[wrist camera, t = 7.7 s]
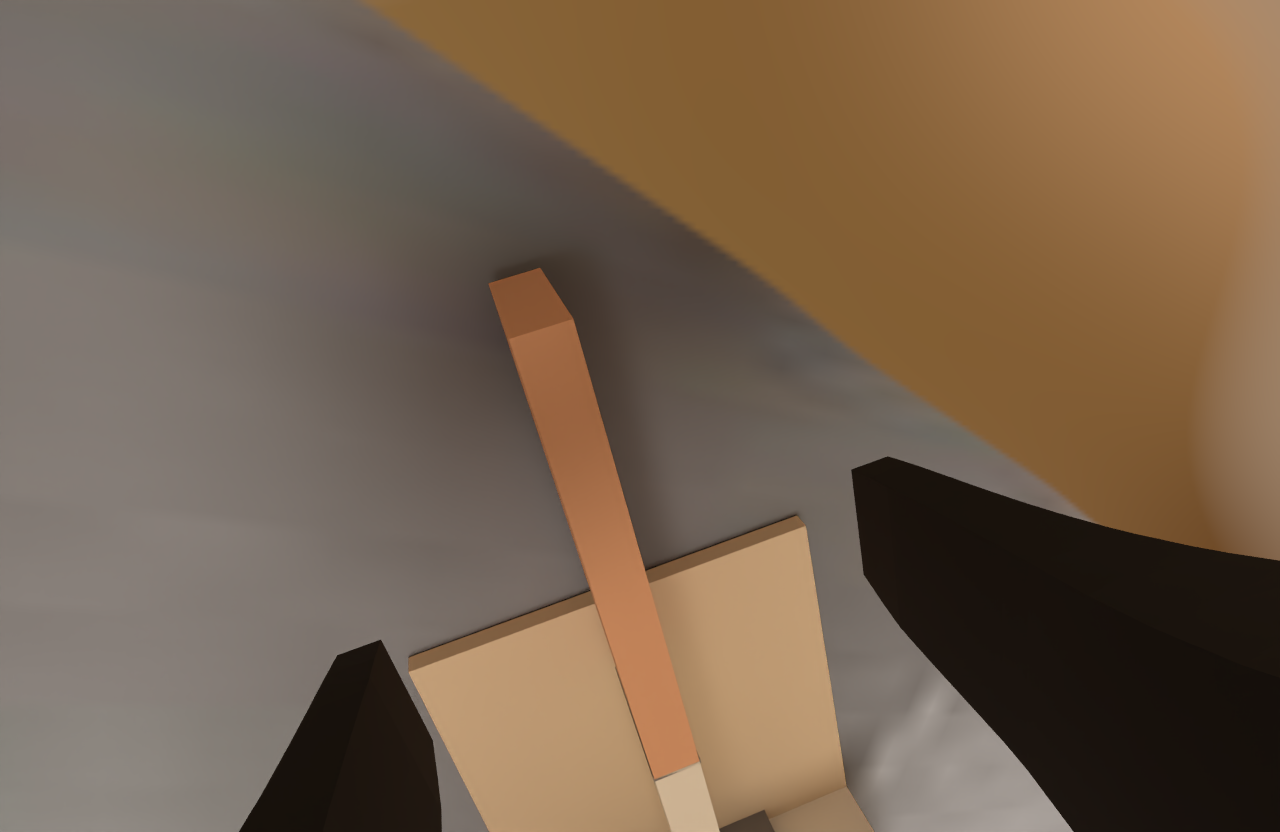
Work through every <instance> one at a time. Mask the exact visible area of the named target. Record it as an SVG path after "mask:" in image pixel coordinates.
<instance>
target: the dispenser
mask: <svg viewBox="0 0 1280 832" xmlns="http://www.w3.org/2000/svg"><path fill="white" fill-rule="evenodd" d="M645 572H646V575H647V579H648V582H649V586H650V589H651V593H652V596H653V600H654V603H655V607H656V610H657V614H658V617H659V621H660V624H661V628H662V631H663V635H664V638H665V642H666V645H667V649H668V652H669V656H670V659H671V663H672V666H673V670H674V673H675V677H676V680H677V684H678V687H679V691H680V694H681V698H682V701H683V705H684V708H685V712H686V715H687V719H688V722H689V726H690V729H691V733H692V736H693V740H694V743H695V747H696V750H697V752H698V755H699V757H700V760H701V763H700V764H701V768H702V771H703V775H704V778H705V782H706V785H707V789H708V792H709V796H710V799H711V803H712V806H713V810H714V813H715V817H716V820H717V824H718V827H719V831H720V832H874V831H873V829H872V827H871V826H870V824H869V822H868V821H867V819H866V817H865V816H864V814H863V812H862V811H861V809H860V807H859V806H858V804H857V803H856V801H855V799H854V798H853V796H852V794H851V793H850V791H849V789H848V788H847V785H846V779H845V773H844V766H843V760H842V754H841V747H840V741H839V734H838V728H837V722H836V715H835V709H834V703H833V696H832V690H831V683H830V677H829V671H828V664H827V658H826V652H825V645H824V639H823V632H822V626H821V620H820V613H819V607H818V601H817V594H816V588H815V581H814V575H813V569H812V562H811V556H810V550H809V543H808V537H807V530H806V525H805V524H804V523H803V522H802V521H801V520H800V519H799V517H798V516H794V517H791V518H788V519H786V520H783V521H780V522H778V523H775V524H772V525H769V526H767V527H764V528H761V529H758V530H756V531H753V532H750V533H748V534H745V535H742V536H739V537H737V538H734V539H731V540H728V541H726V542H723V543H720V544H717V545H715V546H712V547H709V548H707V549H704V550H701V551H698V552H696V553H693V554H690V555H687V556H685V557H682V558H679V559H676V560H674V561H671V562H668V563H666V564H663V565H660V566H657V567H655V568H652V569H649V570H646V571H645ZM615 667H616V666H615V663H614V660H613V657H612V654H611V651H610V648H609V645H608V642H607V639H606V636H605V633H604V630H603V627H602V624H601V621H600V618H599V615H598V612H597V609H596V606H595V603H594V600H593V597H592V594H591V591H589V592H586V593H584V594H581V595H578V596H575V597H573V598H570V599H567V600H564V601H562V602H559V603H556V604H554V605H551V606H548V607H545V608H543V609H540V610H537V611H534V612H532V613H529V614H526V615H524V616H521V617H518V618H515V619H513V620H510V621H507V622H504V623H502V624H499V625H496V626H493V627H491V628H488V629H485V630H483V631H480V632H477V633H474V634H472V635H469V636H466V637H463V638H461V639H458V640H455V641H453V642H450V643H447V644H444V645H442V646H439V647H436V648H433V649H431V650H428V651H425V652H422V653H420V654H417V655H414V656H412V657H409V674H410V676H411V678H412V680H413V682H414V684H415V686H416V688H417V690H418V692H419V694H420V696H421V698H422V700H423V702H424V704H425V706H426V708H427V710H428V712H429V714H430V716H431V718H432V720H433V722H434V724H435V726H436V728H437V729H438V731H439V733H440V735H441V737H442V739H443V741H444V743H445V745H446V747H447V749H448V751H449V753H450V755H451V757H452V759H453V761H454V763H455V765H456V767H457V769H458V771H459V773H460V775H461V777H462V779H463V781H464V783H465V785H466V787H467V789H468V791H469V793H470V795H471V797H472V799H473V801H474V803H475V804H476V806H477V808H478V810H479V812H480V814H481V816H482V818H483V820H484V822H485V824H486V826H487V828H488V830H489V832H671V831H670V828H669V825H668V822H667V819H666V816H665V813H664V810H663V807H662V804H661V801H660V798H659V795H658V792H657V789H656V786H655V783H654V780H653V777H652V774H651V772H650V769H649V766H648V763H647V760H646V757H645V754H644V751H643V748H642V745H641V742H640V739H639V736H638V734H637V731H636V728H635V725H634V722H633V719H632V716H631V713H630V710H629V707H628V704H627V701H626V698H625V696H624V693H623V690H622V687H621V684H620V681H619V678H618V675H617V672H616V669H615Z"/></svg>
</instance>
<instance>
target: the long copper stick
mask: <svg viewBox="0 0 1280 832" xmlns="http://www.w3.org/2000/svg"><path fill="white" fill-rule="evenodd" d="M488 284H489V287H490V290H491V293H492V296H493V299H494V302H495V305H496V308H497V311H498V314H499V317H500V320H501V323H502V326H503V329H504V332H505V335H506V338H507V341H508V344H509V347H510V350H511V353H512V356H513V359H514V362H515V365H516V368H517V371H518V374H519V377H520V380H521V383H522V386H523V389H524V392H525V395H526V398H527V401H528V404H529V407H530V410H531V413H532V416H533V419H534V422H535V425H536V428H537V431H538V434H539V437H540V440H541V443H542V446H543V449H544V452H545V455H546V458H547V461H548V464H549V467H550V470H551V473H552V476H553V479H554V482H555V485H556V488H557V491H558V494H559V497H560V500H561V504H562V507H563V510H564V513H565V516H566V519H567V522H568V525H569V528H570V531H571V534H572V537H573V540H574V543H575V546H576V549H577V552H578V555H579V558H580V561H581V564H582V567H583V570H584V573H585V576H586V579H587V582H588V585H589V588H590V591H591V594H592V597H593V600H594V603H595V606H596V609H597V612H598V615H599V618H600V621H601V624H602V627H603V630H604V633H605V636H606V639H607V642H608V645H609V648H610V651H611V654H612V657H613V660H614V663H615V666H616V667H615V669H616V672H617V675H618V678H619V681H620V684H621V687H622V690H623V693H624V696H625V698H626V701H627V704H628V707H629V710H630V713H631V716H632V719H633V722H634V725H635V728H636V731H637V734H638V736H639V739H640V742H641V745H642V748H643V751H644V754H645V757H646V760H647V763H648V766H649V769H650V772H651V774H652V777H653V780H654V783H655V786H656V789H657V792H658V795H659V798H660V801H661V804H662V807H663V810H664V813H665V816H666V819H667V822H668V825H669V828H670V831H671V832H720V831H719V827H718V824H717V820H716V817H715V813H714V810H713V806H712V803H711V799H710V796H709V792H708V789H707V785H706V782H705V778H704V775H703V771H702V768H701V764H700V763H701V760H700V757H699V755H698V752H697V750H696V747H695V743H694V740H693V736H692V733H691V729H690V726H689V722H688V719H687V715H686V712H685V708H684V705H683V701H682V698H681V694H680V691H679V687H678V684H677V680H676V677H675V673H674V670H673V666H672V663H671V659H670V656H669V652H668V649H667V645H666V642H665V638H664V635H663V631H662V628H661V624H660V621H659V617H658V614H657V610H656V607H655V603H654V600H653V596H652V593H651V589H650V586H649V582H648V579H647V575H646V572H645V568H644V565H643V561H642V558H641V554H640V551H639V547H638V544H637V540H636V537H635V533H634V530H633V526H632V523H631V519H630V516H629V512H628V509H627V505H626V502H625V498H624V495H623V491H622V488H621V484H620V481H619V477H618V474H617V470H616V467H615V463H614V460H613V456H612V453H611V449H610V446H609V442H608V439H607V435H606V432H605V428H604V425H603V421H602V418H601V414H600V411H599V407H598V404H597V400H596V397H595V393H594V390H593V386H592V383H591V379H590V376H589V372H588V369H587V365H586V362H585V358H584V355H583V351H582V348H581V344H580V341H579V337H578V334H577V330H576V327H575V323H574V320H573V318H572V316H571V315H570V313H569V311H568V310H567V308H566V307H565V305H564V304H563V302H562V301H561V299H560V298H559V296H558V295H557V293H556V291H555V290H554V288H553V287H552V285H551V284H550V282H549V281H548V279H547V278H546V276H545V275H544V273H543V272H542V270H541V268H537V269H534V270H531V271H527V272H524V273H521V274H518V275H514V276H511V277H508V278H504V279H501V280H498V281H494V282H491V283H488Z"/></svg>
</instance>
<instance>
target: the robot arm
mask: <svg viewBox="0 0 1280 832" xmlns="http://www.w3.org/2000/svg"><path fill="white" fill-rule="evenodd" d="M851 471H852V479H853V488H854V496H855V505H856V513H857V521H858V530H859V538H860V547H861V555H862V564H863V572H864V576H865V577H866V579H867V580H868V582H869V583H870V584H871V586H872V587H873V589H874V590H875V592H876V593H877V595H878V596H879V598H880V599H881V601H882V602H883V604H884V605H885V607H886V608H887V609H888V611H889V612H890V614H891V615H892V616H893V618H894V619H895V621H896V622H897V623H898V625H899V626H900V628H901V629H902V630H903V631H904V632H905V633H906V634H907V636H908V637H909V638H910V639H911V640H912V641H913V642H914V644H915V645H916V646H917V647H918V648H919V649H920V650H921V651H922V652H923V654H924V655H925V656H926V657H927V658H928V659H929V660H930V661H931V662H932V664H933V665H934V666H935V667H936V668H937V669H938V670H939V671H940V672H941V674H942V675H943V676H944V677H945V678H946V679H947V680H948V681H949V682H950V683H951V684H952V686H953V687H954V688H955V689H956V690H957V691H958V692H959V693H960V694H961V695H962V697H963V698H964V699H965V700H966V701H967V702H968V703H969V704H970V705H971V706H972V708H973V709H974V710H975V711H976V712H977V713H978V714H979V715H980V716H981V717H982V719H983V720H984V721H985V722H986V723H987V724H988V725H989V726H990V727H991V728H992V729H993V731H994V732H995V733H996V734H997V735H998V736H999V737H1000V738H1001V739H1002V740H1003V742H1004V743H1005V744H1006V745H1007V746H1008V747H1009V749H1010V750H1011V751H1012V752H1013V753H1014V755H1015V756H1016V757H1017V758H1018V759H1019V761H1020V762H1021V763H1022V764H1023V765H1024V766H1025V768H1026V769H1027V770H1028V771H1029V773H1030V774H1031V775H1032V777H1033V778H1034V779H1035V781H1036V782H1037V783H1038V785H1039V786H1040V787H1041V789H1042V790H1043V791H1044V793H1045V794H1046V795H1047V797H1048V798H1049V799H1050V801H1051V802H1052V803H1053V805H1054V806H1055V807H1056V809H1057V810H1058V811H1059V813H1060V814H1061V815H1062V817H1063V818H1064V819H1065V821H1066V822H1067V823H1068V825H1069V826H1070V827H1071V829H1072V830H1073V831H1074V832H1280V561H1278V560H1271V559H1264V558H1258V557H1252V556H1245V555H1238V554H1232V553H1226V552H1221V551H1215V550H1209V549H1204V548H1199V547H1193V546H1188V545H1184V544H1179V543H1174V542H1170V541H1165V540H1161V539H1156V538H1152V537H1147V536H1142V535H1138V534H1133V533H1129V532H1125V531H1121V530H1117V529H1113V528H1109V527H1105V526H1102V525H1098V524H1095V523H1091V522H1088V521H1084V520H1080V519H1077V518H1073V517H1070V516H1066V515H1063V514H1059V513H1056V512H1053V511H1049V510H1046V509H1043V508H1040V507H1036V506H1033V505H1030V504H1027V503H1024V502H1021V501H1018V500H1015V499H1012V498H1009V497H1006V496H1003V495H1000V494H997V493H994V492H991V491H988V490H985V489H982V488H979V487H976V486H973V485H971V484H968V483H965V482H962V481H959V480H956V479H954V478H951V477H948V476H945V475H942V474H939V473H937V472H934V471H931V470H928V469H925V468H922V467H919V466H916V465H913V464H911V463H907V462H904V461H901V460H898V459H894V458H891V457H885V458H882V459H879V460H877V461H874V462H871V463H868V464H866V465H863V466H860V467H857V468H855V469H852V470H851ZM239 832H442V824H441V803H440V794H439V785H438V777H437V769H436V762H435V755H434V747H433V740H432V738H431V736H430V734H429V732H428V730H427V728H426V726H425V724H424V722H423V720H422V718H421V717H420V715H419V713H418V711H417V709H416V707H415V705H414V703H413V701H412V699H411V697H410V695H409V693H408V691H407V689H406V687H405V685H404V684H403V682H402V680H401V678H400V676H399V674H398V672H397V670H396V668H395V666H394V664H393V662H392V660H391V658H390V656H389V654H388V652H387V651H386V649H385V647H384V645H383V643H382V641H381V640H379V641H376V642H373V643H370V644H367V645H365V646H362V647H359V648H356V649H354V650H351V651H348V652H345V653H343V654H340V655H337V657H336V659H335V661H334V662H333V664H332V666H331V668H330V670H329V671H328V673H327V675H326V677H325V679H324V680H323V682H322V684H321V686H320V688H319V690H318V692H317V694H316V695H315V697H314V699H313V701H312V703H311V705H310V707H309V709H308V711H307V713H306V714H305V716H304V718H303V720H302V722H301V724H300V726H299V728H298V729H297V731H296V733H295V735H294V737H293V739H292V741H291V743H290V744H289V746H288V748H287V750H286V752H285V753H284V755H283V757H282V759H281V761H280V762H279V764H278V766H277V768H276V770H275V771H274V773H273V775H272V777H271V779H270V780H269V782H268V784H267V786H266V788H265V789H264V791H263V793H262V795H261V796H260V798H259V800H258V801H257V803H256V805H255V806H254V808H253V810H252V811H251V813H250V815H249V816H248V818H247V819H246V821H245V823H244V824H243V826H242V828H241V829H240V831H239Z"/></svg>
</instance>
